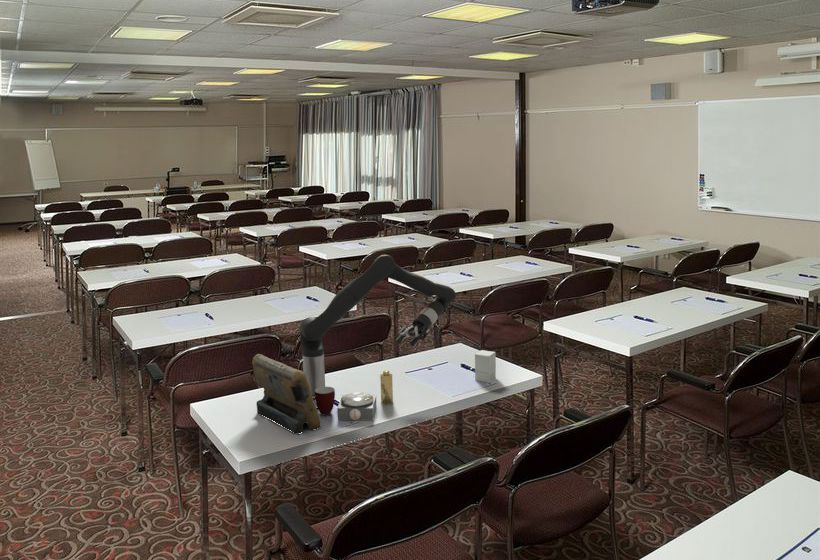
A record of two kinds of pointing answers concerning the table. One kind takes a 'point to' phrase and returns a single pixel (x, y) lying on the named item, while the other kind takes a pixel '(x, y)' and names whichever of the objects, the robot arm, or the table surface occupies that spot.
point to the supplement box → (485, 366)
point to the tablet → (285, 395)
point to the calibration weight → (386, 388)
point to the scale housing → (357, 411)
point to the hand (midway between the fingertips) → (403, 343)
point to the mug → (324, 399)
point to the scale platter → (357, 399)
